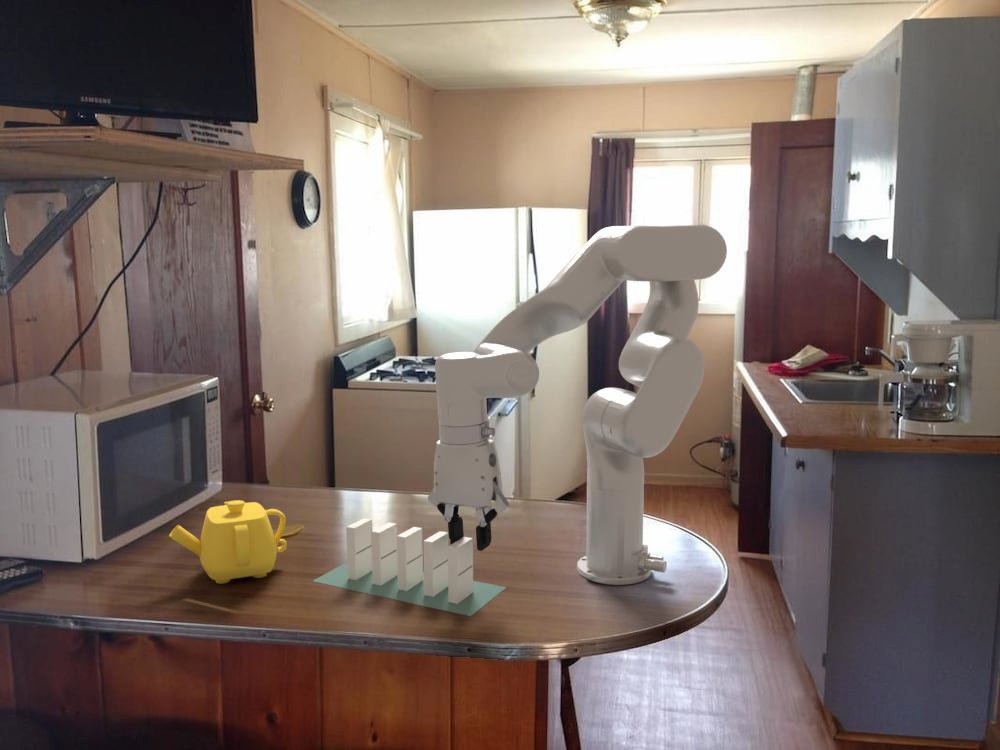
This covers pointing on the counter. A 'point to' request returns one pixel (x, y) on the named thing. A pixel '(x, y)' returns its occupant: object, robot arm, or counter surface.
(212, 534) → the teapot
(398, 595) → the runner mat
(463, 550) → the domino
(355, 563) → the domino
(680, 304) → the robot arm
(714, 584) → the counter surface
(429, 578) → the domino
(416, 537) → the domino
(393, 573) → the domino
